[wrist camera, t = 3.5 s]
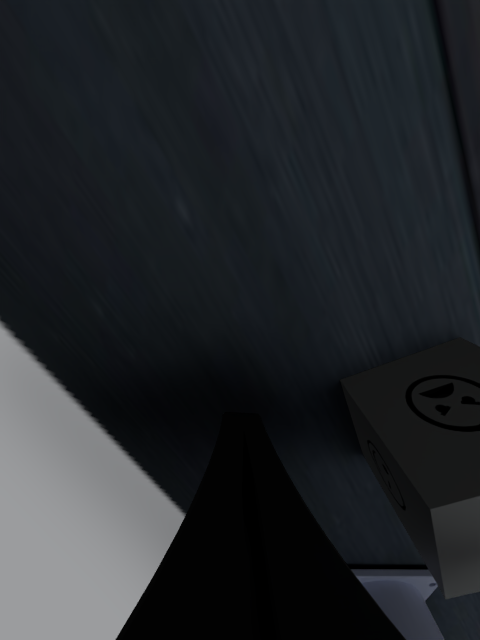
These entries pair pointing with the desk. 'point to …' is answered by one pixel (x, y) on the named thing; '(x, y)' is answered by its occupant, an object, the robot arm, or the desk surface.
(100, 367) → the desk surface
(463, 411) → the dice cube
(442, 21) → the desk surface
